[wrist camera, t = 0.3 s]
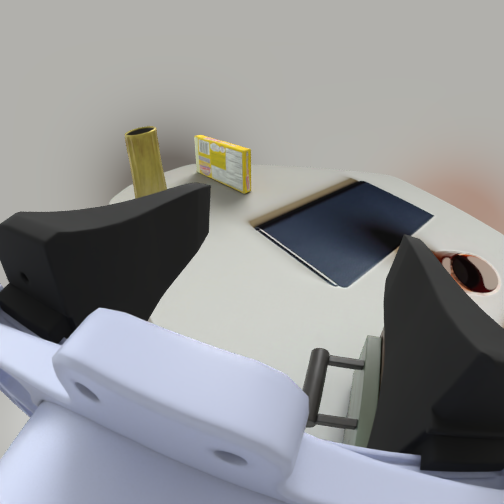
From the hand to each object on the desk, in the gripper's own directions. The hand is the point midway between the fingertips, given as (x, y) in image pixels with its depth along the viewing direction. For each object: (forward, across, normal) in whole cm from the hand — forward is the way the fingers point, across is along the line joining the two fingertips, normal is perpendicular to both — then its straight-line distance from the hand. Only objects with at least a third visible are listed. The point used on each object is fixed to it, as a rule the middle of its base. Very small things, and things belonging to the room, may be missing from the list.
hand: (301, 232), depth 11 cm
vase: (+33, +28, +22) cm, 49 cm away
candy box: (+46, +21, +20) cm, 54 cm away
